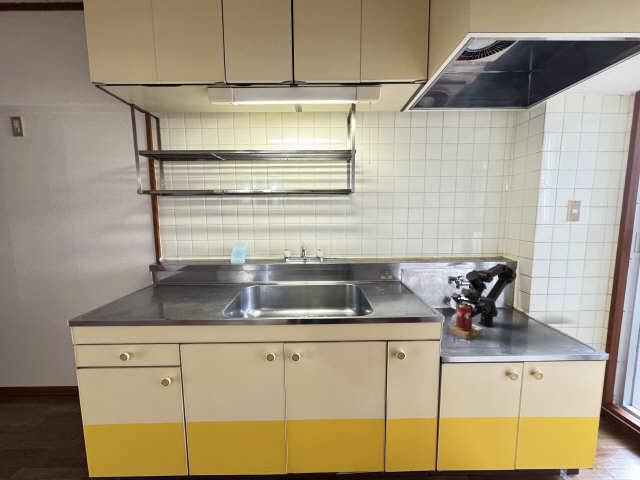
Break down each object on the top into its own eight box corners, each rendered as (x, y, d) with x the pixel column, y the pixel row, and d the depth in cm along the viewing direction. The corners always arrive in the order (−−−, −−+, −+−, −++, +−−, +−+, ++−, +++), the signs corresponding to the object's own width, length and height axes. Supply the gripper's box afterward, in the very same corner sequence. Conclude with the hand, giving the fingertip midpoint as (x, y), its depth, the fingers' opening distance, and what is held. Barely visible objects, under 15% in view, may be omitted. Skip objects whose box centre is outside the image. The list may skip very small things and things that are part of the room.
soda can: (473, 326, 141) (474, 304, 140) (470, 331, 136) (471, 308, 134) (458, 323, 146) (459, 301, 144) (454, 327, 140) (455, 305, 139)
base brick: (461, 328, 147) (461, 323, 147) (477, 335, 139) (477, 330, 139) (449, 332, 143) (450, 326, 143) (465, 339, 135) (465, 334, 135)
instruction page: (470, 323, 153) (470, 323, 153) (482, 328, 147) (482, 328, 147) (458, 327, 149) (458, 326, 149) (470, 332, 143) (470, 332, 143)
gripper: (453, 278, 148) (440, 301, 144) (489, 286, 132) (475, 313, 128) (461, 289, 153) (448, 312, 149) (496, 299, 137) (483, 325, 133)
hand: (462, 315), depth 139 cm, fingers closed on soda can, 7 cm apart
